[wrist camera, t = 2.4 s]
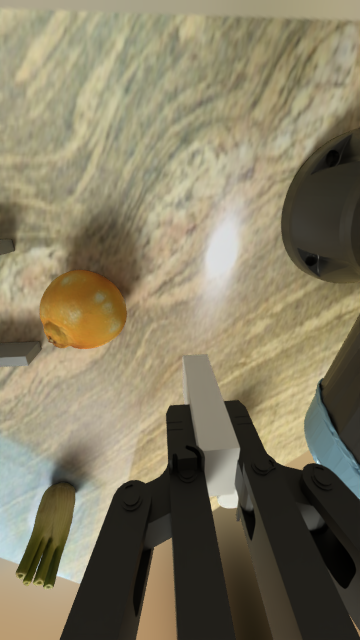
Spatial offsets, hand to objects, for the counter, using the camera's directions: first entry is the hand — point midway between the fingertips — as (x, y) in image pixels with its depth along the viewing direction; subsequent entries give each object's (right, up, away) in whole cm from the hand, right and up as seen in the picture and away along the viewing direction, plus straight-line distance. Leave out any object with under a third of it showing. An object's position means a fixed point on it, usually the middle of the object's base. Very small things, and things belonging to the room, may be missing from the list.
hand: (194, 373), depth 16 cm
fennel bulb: (-21, -25, +27) cm, 43 cm away
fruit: (-11, +6, +14) cm, 19 cm away
